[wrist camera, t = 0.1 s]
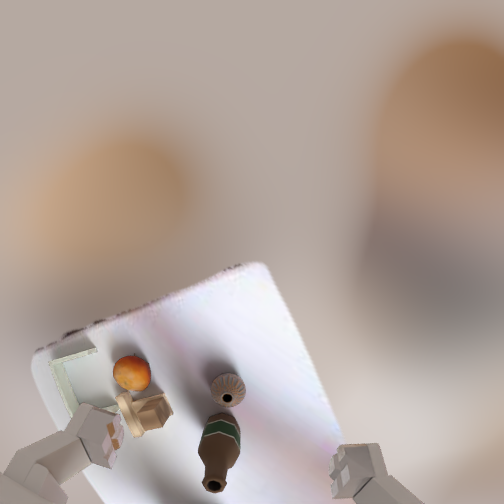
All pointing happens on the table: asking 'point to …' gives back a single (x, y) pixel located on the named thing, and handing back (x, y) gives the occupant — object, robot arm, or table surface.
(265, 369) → the table surface
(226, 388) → the vase
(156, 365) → the table surface
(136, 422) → the angled wooden block structure
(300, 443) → the table surface
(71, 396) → the tray
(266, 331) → the table surface
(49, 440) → the robot arm
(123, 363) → the fruit
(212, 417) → the beer bottle
